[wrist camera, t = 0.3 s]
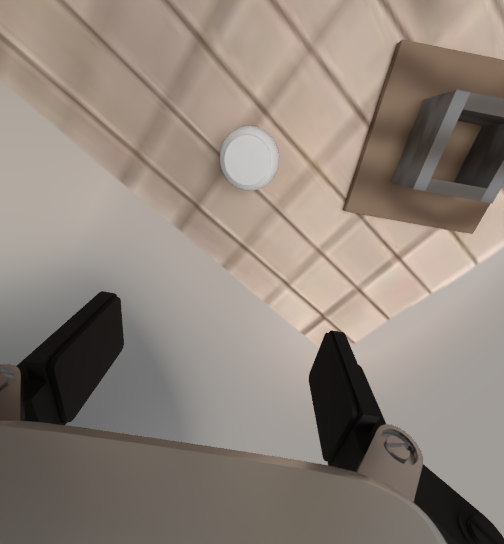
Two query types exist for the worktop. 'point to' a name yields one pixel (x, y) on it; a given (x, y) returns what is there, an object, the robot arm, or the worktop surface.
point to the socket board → (434, 140)
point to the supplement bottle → (249, 158)
